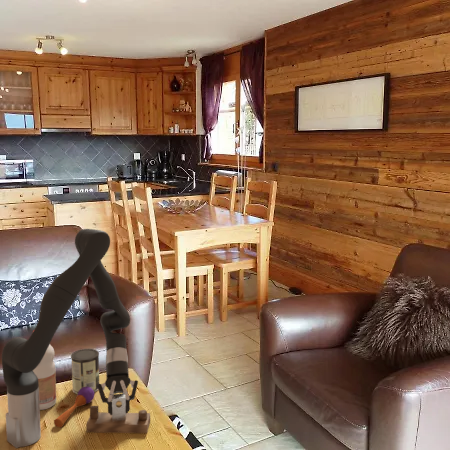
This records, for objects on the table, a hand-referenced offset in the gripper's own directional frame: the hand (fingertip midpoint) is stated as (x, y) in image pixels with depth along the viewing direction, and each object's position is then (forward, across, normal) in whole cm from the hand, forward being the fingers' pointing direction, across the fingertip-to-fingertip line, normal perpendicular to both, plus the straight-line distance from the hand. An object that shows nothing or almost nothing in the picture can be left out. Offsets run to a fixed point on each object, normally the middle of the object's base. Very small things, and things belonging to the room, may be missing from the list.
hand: (119, 413), depth 164 cm
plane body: (+3, 0, +6) cm, 6 cm away
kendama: (-6, -15, +15) cm, 22 cm away
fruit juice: (-12, -26, +20) cm, 35 cm away
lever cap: (+1, 0, +3) cm, 3 cm away
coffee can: (-18, -11, +26) cm, 33 cm away
